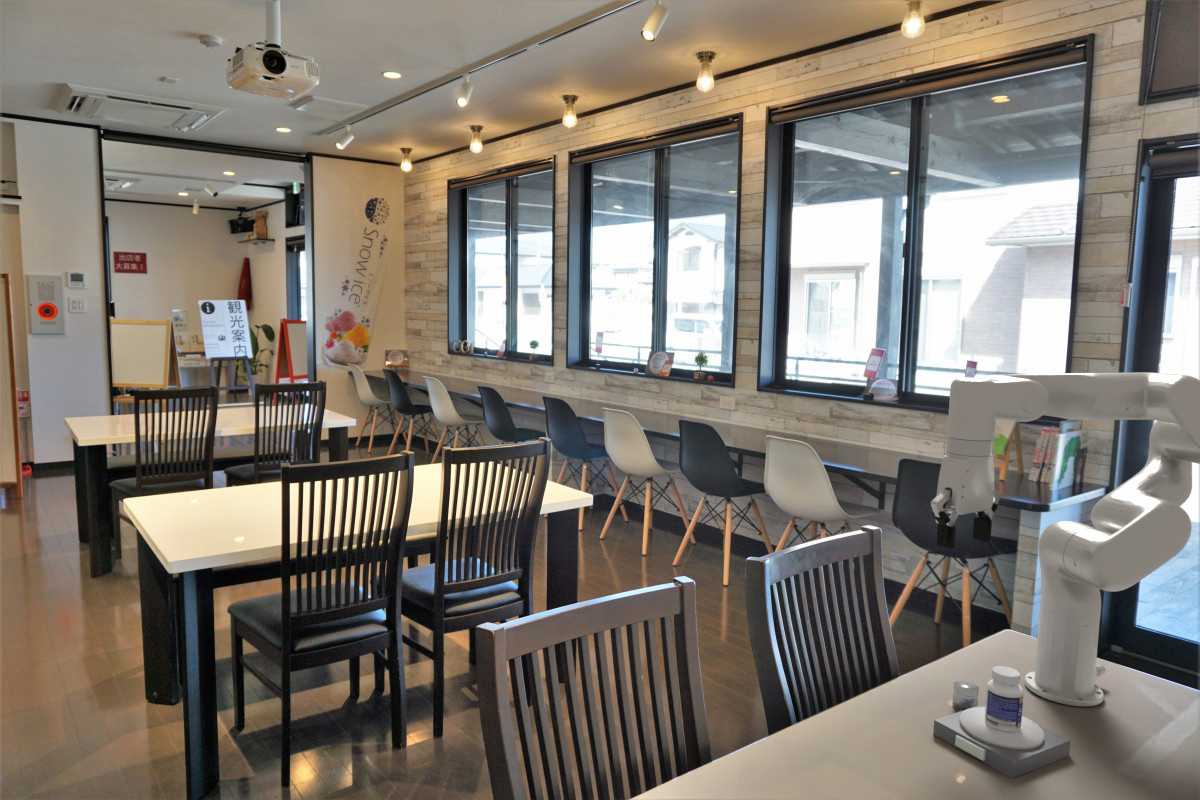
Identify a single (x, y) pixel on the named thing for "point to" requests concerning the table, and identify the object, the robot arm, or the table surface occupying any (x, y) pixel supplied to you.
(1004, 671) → the pill bottle
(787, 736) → the table surface
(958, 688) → the cylinder
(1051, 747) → the scale
